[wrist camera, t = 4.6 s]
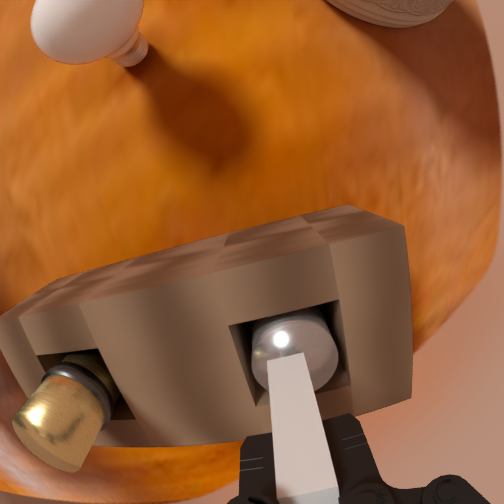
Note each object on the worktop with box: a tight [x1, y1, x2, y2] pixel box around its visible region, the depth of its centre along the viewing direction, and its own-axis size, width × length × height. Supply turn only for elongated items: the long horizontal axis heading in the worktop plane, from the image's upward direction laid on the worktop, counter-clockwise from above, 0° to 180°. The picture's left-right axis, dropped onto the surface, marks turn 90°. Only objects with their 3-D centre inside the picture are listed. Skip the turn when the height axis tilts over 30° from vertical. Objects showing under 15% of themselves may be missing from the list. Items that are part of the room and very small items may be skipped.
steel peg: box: [249, 304, 338, 391], centre depth 18 cm, size 4×4×8 cm
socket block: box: [0, 205, 413, 447], centre depth 19 cm, size 24×10×9 cm, turn 104°
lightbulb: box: [31, 0, 148, 67], centre depth 13 cm, size 6×6×11 cm
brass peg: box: [12, 348, 121, 472], centre depth 14 cm, size 4×4×8 cm
